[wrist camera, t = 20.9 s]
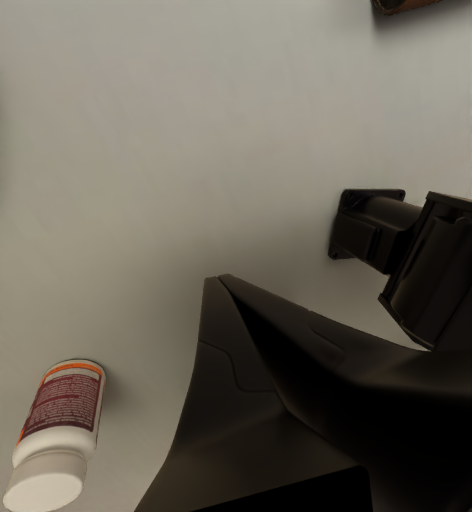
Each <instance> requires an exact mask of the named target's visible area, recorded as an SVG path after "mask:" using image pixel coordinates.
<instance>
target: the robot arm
mask: <svg viewBox="0 0 472 512" xmlns="http://www.w3.org/2000/svg"><path fill="white" fill-rule="evenodd" d="M349 193H350V195H349V197H348V194H349ZM405 194H406V193H405V191H404V190H401V189H346V190H345V191H344V192H343V194H342V198H341V202H340V207H339V211H338V215H337V219H336V223H335V228H334V232H333V236H332V240H331V245H330V249H329V253H328V256H329V257H330V258H331V259H333V260H337V259H349V258H357V259H359V260H361V261H362V262H365V263H366V264H368V265H369V266H371V267H373V268H374V269H376V270H377V271H379V272H380V273H382V274H384V275H386V276H388V277H389V279H388V281H387V284H386V286H385V288H384V290H383V292H382V293H380V295H379V297H378V301H379V302H380V303H381V304H382V305H383V307H384V308H385V309H386V310H387V311H388V313H389V314H390V315H391V316H392V318H393V319H394V320H395V321H396V322H397V324H398V325H399V326H400V327H401V328H402V330H403V331H404V332H405V333H406V334H407V335H408V336H409V337H410V339H411V340H412V341H413V342H415V343H417V344H419V345H421V346H423V347H424V348H426V349H428V350H430V351H422V350H416V349H411V348H408V347H405V346H401V345H399V344H396V343H393V342H390V341H388V340H385V339H382V338H379V337H376V336H374V335H371V334H368V333H365V332H363V331H360V330H357V329H354V328H352V327H349V326H347V325H344V324H341V323H339V322H336V321H334V320H331V319H329V318H327V317H324V316H322V315H320V314H317V313H315V312H313V311H309V310H308V309H306V308H304V307H302V306H299V305H297V304H295V303H293V302H291V301H288V300H286V299H284V298H282V297H279V296H277V295H275V294H273V293H270V292H268V291H266V290H264V289H262V288H259V287H257V286H255V285H253V284H250V283H248V282H246V281H244V280H241V279H239V278H237V277H235V276H233V275H230V274H224V275H219V276H218V277H216V276H214V277H210V278H205V280H204V288H203V297H202V306H201V316H200V325H199V334H198V343H197V351H196V358H195V364H194V369H193V373H192V378H191V382H190V385H189V389H188V392H187V396H186V399H185V403H184V406H183V410H182V413H181V417H180V420H179V424H178V427H177V430H176V433H175V437H174V440H173V442H172V445H171V448H170V451H169V453H168V456H167V458H166V460H165V462H164V464H163V465H162V467H161V469H160V470H159V472H158V474H157V475H156V477H155V478H154V480H153V482H152V483H151V485H150V486H149V488H148V490H147V491H146V493H145V494H144V496H143V498H142V499H141V501H140V503H139V504H138V506H137V507H136V509H135V511H134V512H472V200H471V199H466V198H461V197H456V196H451V195H446V194H441V193H436V192H431V191H429V192H428V194H427V196H426V199H427V200H426V202H425V204H424V206H423V208H421V207H418V206H415V205H412V204H408V203H405V202H403V200H404V197H405ZM334 253H335V254H334ZM333 254H334V255H333Z"/></svg>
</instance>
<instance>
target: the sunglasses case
mask: <svg viewBox="0 0 472 512" xmlns="http://www.w3.org/2000/svg"><path fill="white" fill-rule="evenodd" d="M372 1H373V3H374V5H375V8H376V9H377V10H378V11H379V12H380V13H381V14H383V15H385V16H389V15H393V14H398V13H400V12H403V11H408V10H412V9H415V8H418V7H422V6H426V5H430V4H432V3H435V2H439V1H442V0H372Z"/></svg>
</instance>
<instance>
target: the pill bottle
mask: <svg viewBox="0 0 472 512" xmlns="http://www.w3.org/2000/svg"><path fill="white" fill-rule="evenodd" d="M105 381H106V376H105V373H104V370H103V369H102V367H100V366H99V365H98V364H96V363H94V362H91V361H88V360H69V361H64V362H61V363H58V364H56V365H55V366H53V367H52V368H50V369H49V370H48V371H47V372H46V374H45V375H44V377H43V379H42V381H41V384H40V386H39V389H38V391H37V394H36V396H35V399H34V401H33V404H32V406H31V409H30V411H29V414H28V416H27V419H26V422H25V424H24V427H23V429H22V431H21V434H20V437H19V439H18V442H17V445H16V447H15V450H14V453H13V456H12V464H13V467H14V468H15V469H14V471H13V473H12V475H11V477H10V480H9V483H8V486H7V489H6V492H5V495H4V498H3V503H4V505H5V507H6V508H7V509H9V510H11V511H13V512H47V511H52V510H55V509H58V508H60V507H63V506H65V505H66V504H68V503H70V502H71V501H73V500H74V499H75V498H77V497H78V496H79V494H80V493H81V491H82V489H83V485H84V480H85V475H86V470H87V462H88V461H89V460H90V458H91V457H92V455H93V454H94V451H95V449H96V445H97V437H98V430H99V423H100V416H101V409H102V402H103V395H104V388H105Z"/></svg>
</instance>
